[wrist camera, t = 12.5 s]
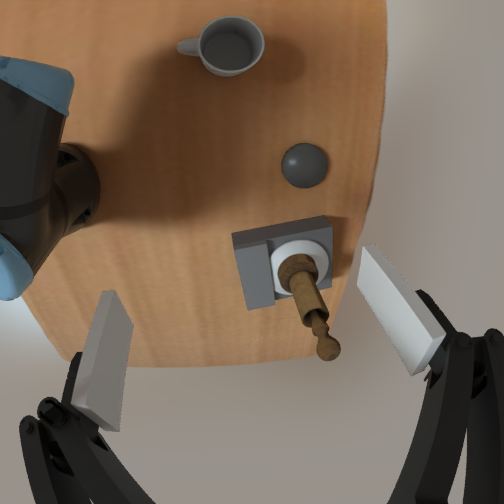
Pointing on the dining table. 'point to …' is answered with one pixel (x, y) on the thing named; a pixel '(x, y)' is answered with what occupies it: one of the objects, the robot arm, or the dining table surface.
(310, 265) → the brown wooden pepper mill
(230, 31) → the cup
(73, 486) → the robot arm
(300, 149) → the dark grey dome
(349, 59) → the dining table surface
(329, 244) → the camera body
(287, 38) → the dining table surface
